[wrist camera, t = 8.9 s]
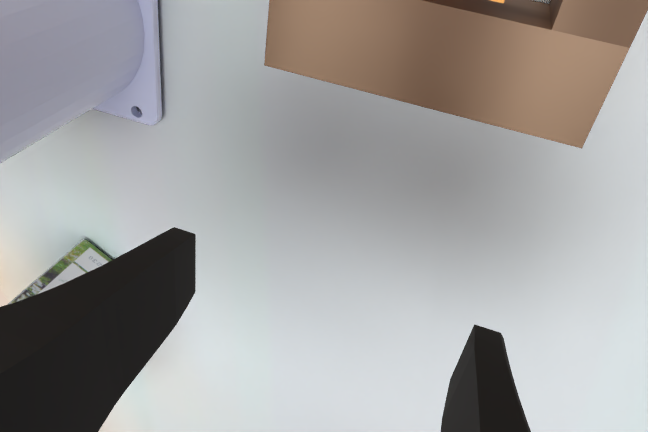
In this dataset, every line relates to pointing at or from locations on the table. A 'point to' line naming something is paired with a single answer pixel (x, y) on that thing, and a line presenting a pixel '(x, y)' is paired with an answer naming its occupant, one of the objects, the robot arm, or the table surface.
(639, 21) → the shelf
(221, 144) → the table surface
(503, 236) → the table surface
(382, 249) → the table surface
